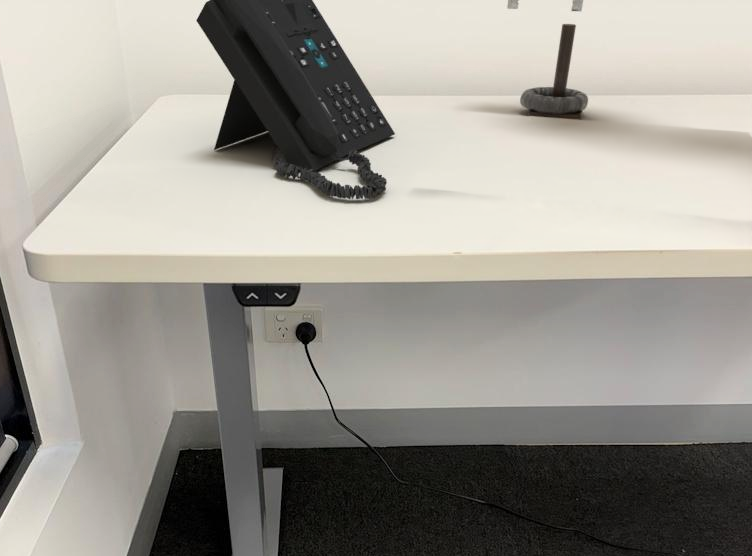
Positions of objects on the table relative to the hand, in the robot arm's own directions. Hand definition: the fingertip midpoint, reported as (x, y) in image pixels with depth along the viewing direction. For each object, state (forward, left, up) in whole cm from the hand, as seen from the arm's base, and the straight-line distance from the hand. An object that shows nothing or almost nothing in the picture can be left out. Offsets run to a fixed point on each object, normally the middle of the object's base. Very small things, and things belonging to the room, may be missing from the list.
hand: (544, 9), depth 113 cm
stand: (-4, 0, -15) cm, 15 cm away
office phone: (+23, +36, -15) cm, 45 cm away
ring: (-3, 0, -13) cm, 13 cm away
